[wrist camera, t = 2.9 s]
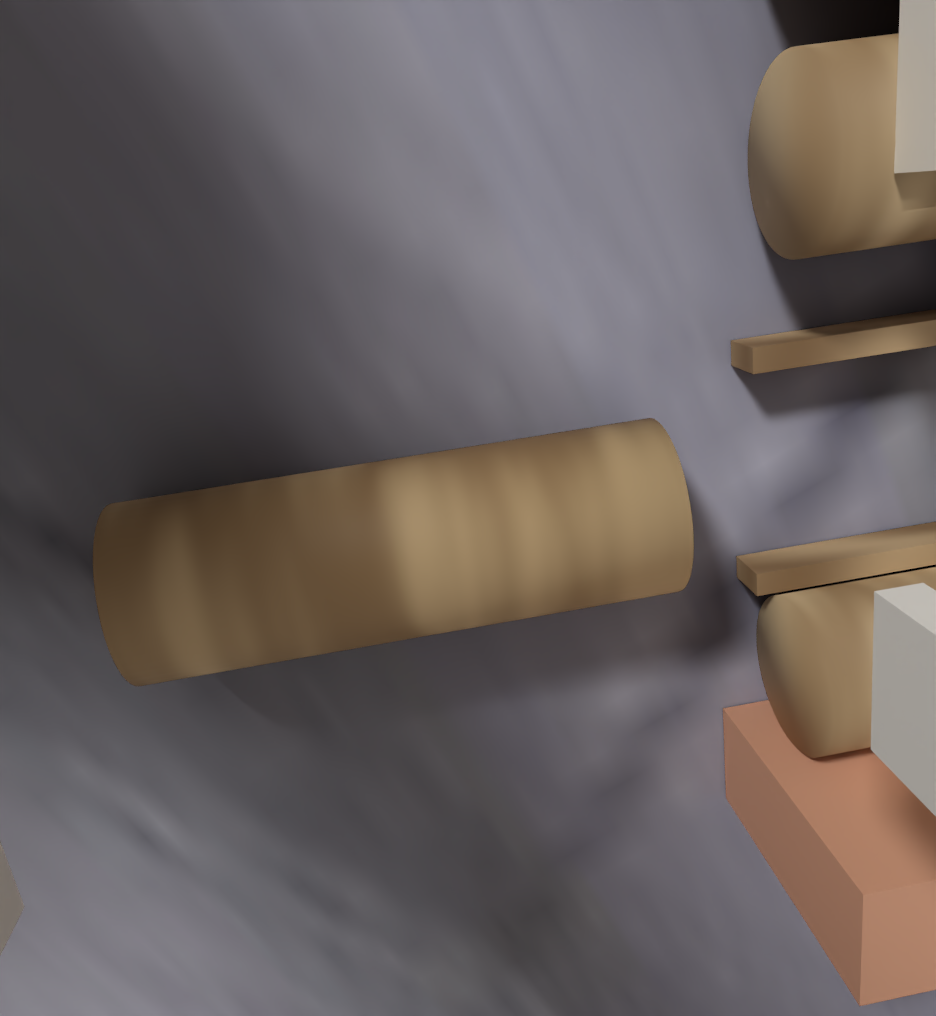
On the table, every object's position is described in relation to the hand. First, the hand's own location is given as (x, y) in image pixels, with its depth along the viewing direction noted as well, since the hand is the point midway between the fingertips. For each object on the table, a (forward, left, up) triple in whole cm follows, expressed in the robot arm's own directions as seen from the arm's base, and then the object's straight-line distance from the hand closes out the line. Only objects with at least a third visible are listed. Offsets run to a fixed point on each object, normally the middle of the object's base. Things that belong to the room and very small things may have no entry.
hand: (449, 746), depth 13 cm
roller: (0, 0, -9) cm, 9 cm away
